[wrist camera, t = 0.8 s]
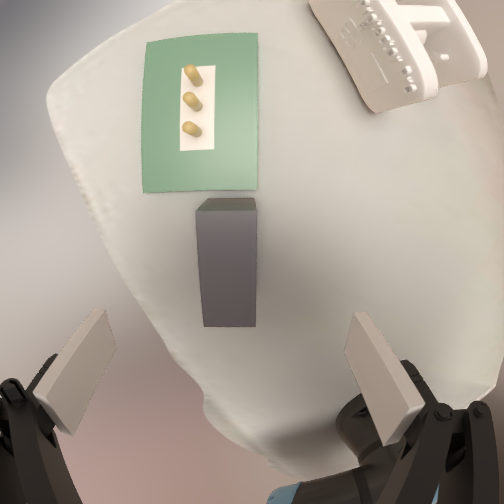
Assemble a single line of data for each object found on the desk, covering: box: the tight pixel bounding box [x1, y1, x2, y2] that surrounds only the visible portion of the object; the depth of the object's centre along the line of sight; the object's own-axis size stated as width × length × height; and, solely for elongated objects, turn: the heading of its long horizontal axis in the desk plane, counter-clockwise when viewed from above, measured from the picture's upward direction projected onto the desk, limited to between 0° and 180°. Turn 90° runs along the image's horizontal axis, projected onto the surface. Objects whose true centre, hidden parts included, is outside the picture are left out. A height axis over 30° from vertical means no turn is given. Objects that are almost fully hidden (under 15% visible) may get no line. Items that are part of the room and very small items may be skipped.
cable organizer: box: [309, 0, 487, 113], centre depth 16 cm, size 15×11×12 cm
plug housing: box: [196, 198, 257, 327], centre depth 25 cm, size 10×4×7 cm, turn 0°
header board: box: [141, 33, 258, 193], centre depth 21 cm, size 16×11×6 cm
